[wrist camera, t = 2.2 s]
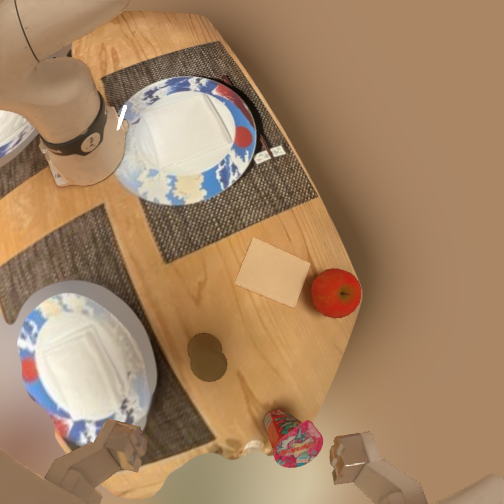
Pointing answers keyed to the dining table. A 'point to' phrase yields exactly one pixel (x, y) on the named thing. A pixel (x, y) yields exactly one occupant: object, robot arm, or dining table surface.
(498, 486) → the robot arm
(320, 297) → the apple
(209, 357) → the pepper shaker
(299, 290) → the napkin
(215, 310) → the dining table surface
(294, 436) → the cup
